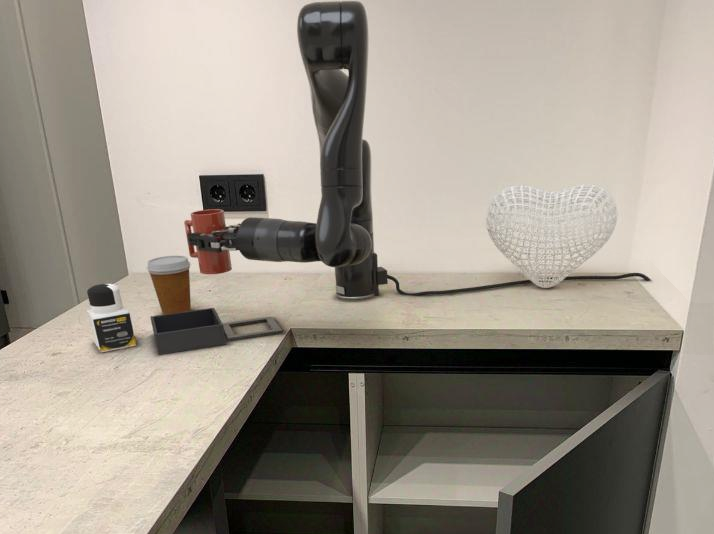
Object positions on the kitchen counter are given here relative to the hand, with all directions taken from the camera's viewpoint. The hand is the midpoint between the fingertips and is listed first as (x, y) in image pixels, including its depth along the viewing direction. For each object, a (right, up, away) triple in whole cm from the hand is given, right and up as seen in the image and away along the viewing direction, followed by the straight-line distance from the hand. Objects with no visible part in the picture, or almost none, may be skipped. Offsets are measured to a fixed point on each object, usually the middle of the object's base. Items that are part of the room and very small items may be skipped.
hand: (201, 235), depth 142 cm
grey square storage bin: (-4, -19, +7) cm, 21 cm away
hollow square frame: (+8, -16, +11) cm, 21 cm away
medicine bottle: (-19, -20, +7) cm, 29 cm away
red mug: (+1, -6, +3) cm, 7 cm away
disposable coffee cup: (-11, -10, +25) cm, 29 cm away
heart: (+74, -3, +27) cm, 78 cm away
